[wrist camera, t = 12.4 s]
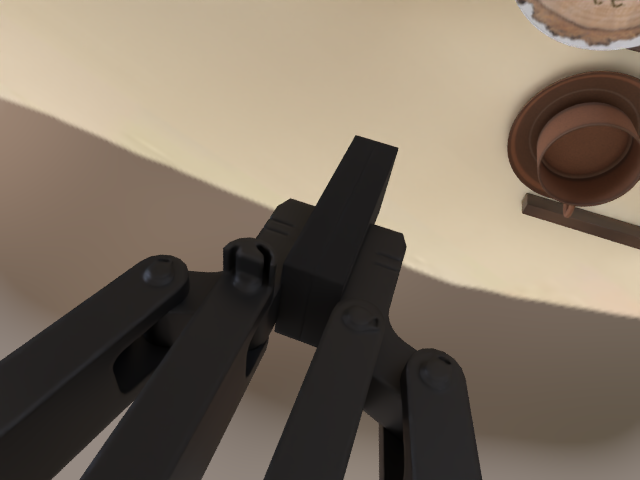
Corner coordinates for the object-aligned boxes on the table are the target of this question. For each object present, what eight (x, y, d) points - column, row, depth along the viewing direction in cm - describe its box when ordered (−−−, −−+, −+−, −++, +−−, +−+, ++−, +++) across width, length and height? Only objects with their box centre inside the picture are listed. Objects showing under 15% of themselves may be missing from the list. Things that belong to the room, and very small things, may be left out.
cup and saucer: (665, 177, 40) (683, 218, 36) (518, 199, 46) (518, 237, 41) (665, 42, 34) (688, 72, 29) (496, 87, 40) (494, 117, 35)
